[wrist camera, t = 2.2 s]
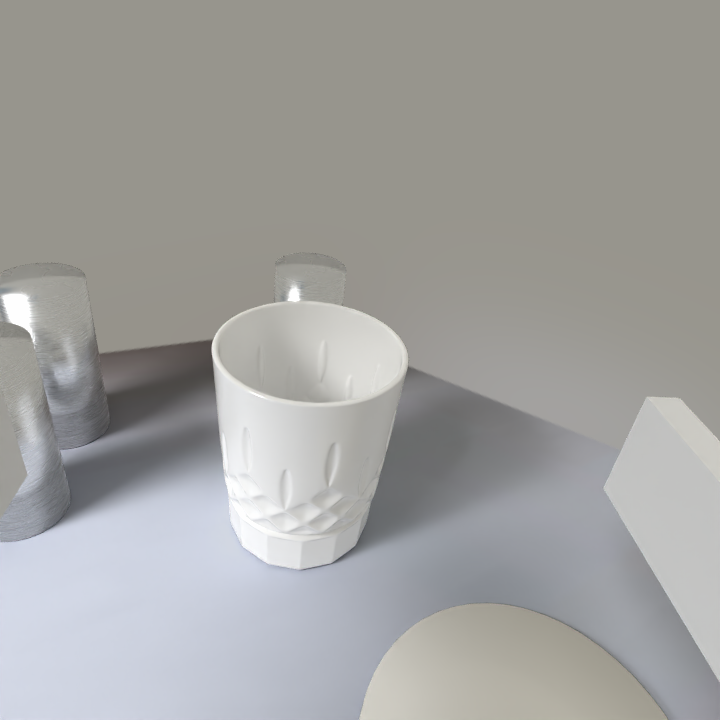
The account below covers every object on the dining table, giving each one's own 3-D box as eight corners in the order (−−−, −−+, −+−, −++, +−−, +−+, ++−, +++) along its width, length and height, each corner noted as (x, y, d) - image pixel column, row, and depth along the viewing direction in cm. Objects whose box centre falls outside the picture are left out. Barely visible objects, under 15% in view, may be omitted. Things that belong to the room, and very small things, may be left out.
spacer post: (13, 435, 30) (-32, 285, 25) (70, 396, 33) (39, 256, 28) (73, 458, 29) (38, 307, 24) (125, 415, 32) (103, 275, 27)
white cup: (309, 439, 32) (322, 285, 27) (409, 523, 28) (448, 359, 22) (187, 503, 27) (173, 330, 22) (284, 617, 23) (296, 436, 17)
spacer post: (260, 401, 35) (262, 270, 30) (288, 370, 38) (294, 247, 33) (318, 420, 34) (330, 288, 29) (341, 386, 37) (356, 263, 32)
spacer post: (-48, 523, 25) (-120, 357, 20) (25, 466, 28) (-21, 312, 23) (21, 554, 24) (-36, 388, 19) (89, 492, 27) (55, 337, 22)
